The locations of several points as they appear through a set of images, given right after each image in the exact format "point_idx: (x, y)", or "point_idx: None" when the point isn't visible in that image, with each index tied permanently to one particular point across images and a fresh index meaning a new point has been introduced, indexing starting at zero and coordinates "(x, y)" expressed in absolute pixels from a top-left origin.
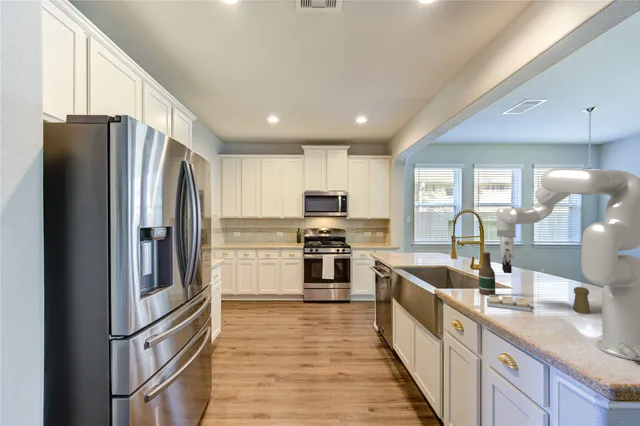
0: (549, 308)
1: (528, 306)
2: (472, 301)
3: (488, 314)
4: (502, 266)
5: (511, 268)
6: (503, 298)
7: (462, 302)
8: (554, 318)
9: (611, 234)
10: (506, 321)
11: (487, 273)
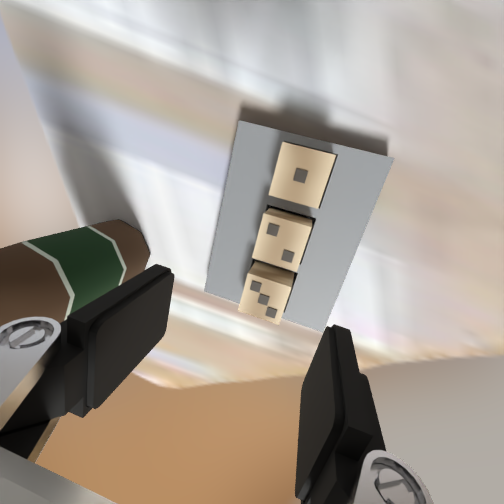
0: (251, 5)
1: (315, 144)
2: (217, 335)
3: (392, 343)
4: (131, 365)
5: (360, 377)
6: (297, 269)
7: (241, 374)
8: (436, 53)
9: None
10: (489, 311)
11: (38, 313)
